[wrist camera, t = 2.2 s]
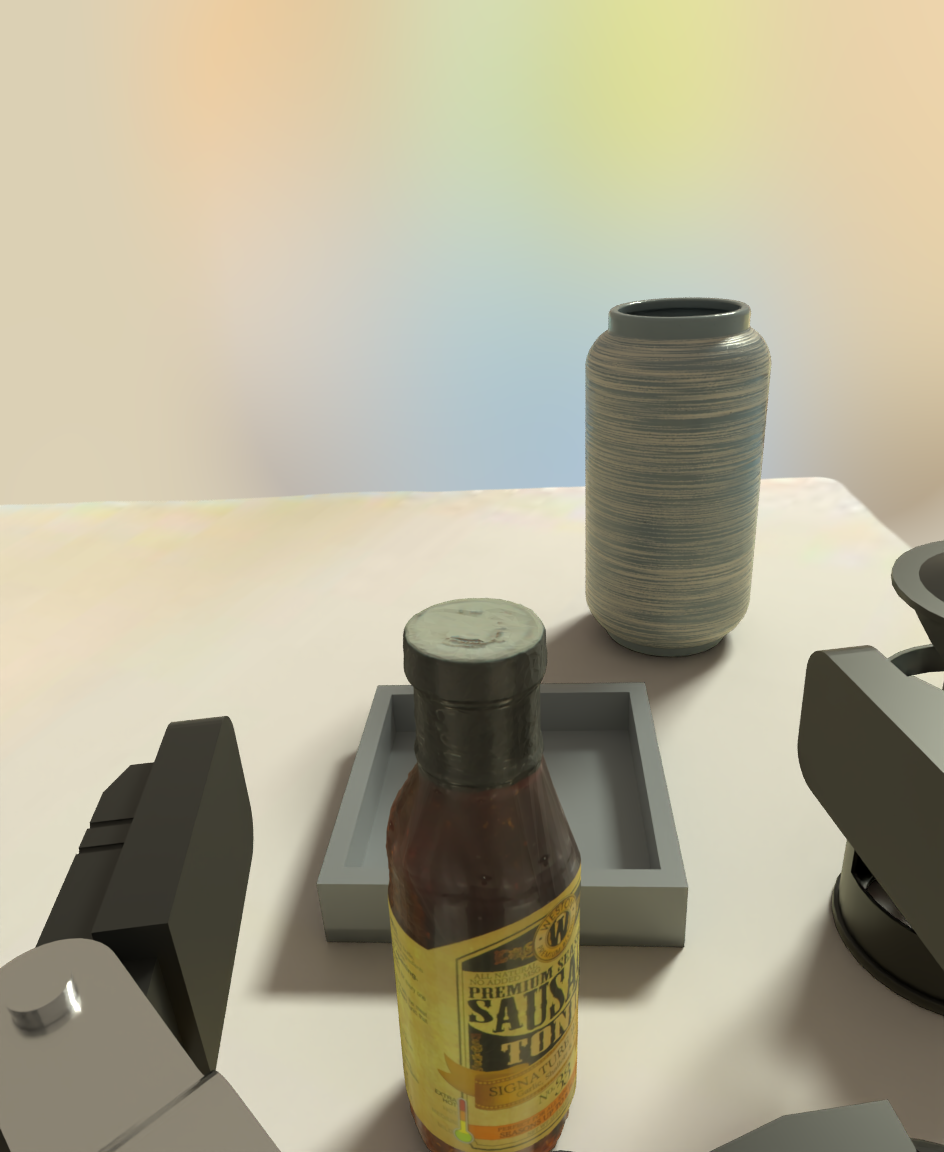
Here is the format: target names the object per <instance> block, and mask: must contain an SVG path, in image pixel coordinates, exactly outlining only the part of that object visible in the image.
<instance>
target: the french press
mask: <svg viewBox="0 0 944 1152" xmlns="http://www.w3.org/2000/svg"><path fill="white" fill-rule="evenodd" d="M891 579H892V586H893V587H894V589H895V591H896V592H897V594H898V596H899V597H901V598H902V599H903V600H904V601H905V602H906V603H907V604H908V605H909V606H910V607H912V608H913V609H915V611H916V613H917V615H918V618H919V620H920V622H921V624H922V625H923V627H924V629H925V631H926V633H927V635H928V637H929V639H930V641H931V643H932V644H929V645H923V646H918V647H913V648H910V649H907V650H904V651H901V652H898V653H896V654H894V655H893V656H891V657H889V658H887V659H888V660H889V661H890V662H891V663H893V664H894V665H895V666H896V667H897V668H898V669H899V670H900V671H901V672H902V673H904V674H905V675H906V676H911V675H916V674H922V673H927V672H940V671H944V541H938V542H932V543H929V544H925V545H921V546H918V547H915V548H913V549H911V550H909V551H907V552H905V553H904V554H902V555H901V556H900V557H899V558H898V559H897V560H896V561H895V564H894V566H893V568H892V573H891ZM942 690H943V691H944V684H943V689H942ZM875 879H876V878H875V877H874V875H873V874H872V873H871V871H870V870H869V869H868V867H867V866H866V865H865V863H864V862H863V860H862V859H861V858H860V856H859V855H858V854H857V852H856V851H855V850H854V848H853V847H852V846H851V844H850V843H849V841H848V840H847V842H846V848H845V854H844V860H843V866H842V872H841V873H840V875H839V876H838V877H837V880H836V883H835V886H834V889H833V893H832V912H833V916H834V920H835V924H836V928H837V930H838V932H839V934H840V936H841V937H842V939H843V941H844V943H845V945H846V946H847V948H848V949H849V950H850V952H851V953H852V954H853V956H854V957H855V958H856V959H857V961H858V962H859V963H860V964H861V965H862V966H863V967H864V968H865V969H866V970H867V971H869V972H870V973H871V974H872V975H873V976H874V977H875V978H876V979H877V980H879V981H880V982H882V983H883V984H884V985H886V986H887V987H888V988H890V989H891V990H893V991H894V992H895V993H897V994H899V995H901V996H902V997H904V998H906V999H908V1000H910V1001H911V1002H913V1003H915V1004H917V1005H919V1006H921V1007H923V1008H926V1009H928V1010H931V1011H933V1012H936V1013H938V1014H941V1015H943V1016H944V970H943V969H942V968H941V966H940V965H939V964H938V962H937V961H936V960H935V958H934V957H933V955H932V954H931V953H930V951H929V950H928V949H927V947H926V946H925V945H924V943H923V942H922V941H921V939H920V938H919V936H918V935H917V934H916V932H915V931H914V930H913V929H912V928H910V927H909V926H907V925H906V924H904V923H903V922H901V921H900V920H898V919H897V918H895V917H894V916H892V915H891V914H890V913H889V912H888V911H887V910H885V909H884V908H883V907H882V906H881V905H880V904H878V903H877V902H876V901H875V899H874V898H873V897H872V896H871V895H870V894H869V893H868V891H867V890H866V889H867V888H868V886H869V885H870V884H871V882H873V881H874V880H875Z"/></svg>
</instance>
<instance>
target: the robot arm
mask: <svg viewBox="0 0 944 1152" xmlns="http://www.w3.org/2000/svg"><path fill="white" fill-rule="evenodd" d="M798 758H799V764H800V768H801V771H802V774H803V777H804V779H805V781H806V783H807V785H808V787H809V788H810V790H811V791H812V793H813V794H814V795H815V797H816V798H817V799H818V801H819V802H820V803H821V805H822V806H823V808H824V809H825V810H826V812H827V813H828V814H829V816H830V817H831V818H832V820H833V821H834V822H835V824H836V825H837V827H838V828H839V829H840V831H841V832H842V833H843V835H844V836H845V837H846V839H847V840H848V841H849V843H850V844H851V846H852V847H853V848H854V850H855V851H856V852H857V854H858V855H859V856H860V858H861V859H862V860H863V862H864V863H865V865H866V866H867V867H868V869H869V870H870V871H871V873H872V874H873V875H874V877H875V878H876V879H877V881H878V882H879V884H880V885H881V886H882V888H883V889H884V890H885V892H886V893H887V894H888V896H889V897H890V898H891V900H892V901H893V903H894V904H895V905H896V907H897V908H898V909H899V911H900V912H901V913H902V915H903V916H904V917H905V919H906V920H907V922H908V923H909V924H910V926H911V927H912V928H913V930H914V931H915V932H916V934H917V935H918V936H919V938H920V939H921V941H922V942H923V943H924V945H925V946H926V947H927V949H928V950H929V951H930V953H931V954H932V955H933V957H934V958H935V960H936V961H937V962H938V964H939V965H940V966H941V968H942V969H943V970H944V691H943V690H941V689H939V688H937V687H935V686H933V685H931V684H929V683H927V682H925V681H923V680H921V679H919V678H917V677H915V676H906V675H905V674H904V673H902V672H901V671H900V670H899V669H898V668H897V667H896V666H895V665H894V664H893V663H891V662H890V661H889V660H888V659H887V658H886V657H885V656H884V655H883V654H881V653H880V652H879V651H878V650H877V649H876V648H874V647H872V646H868V645H865V646H856V647H847V648H839V649H830V650H821V651H815V652H814V653H813V654H812V655H811V656H810V658H809V660H808V664H807V669H806V677H805V685H804V694H803V702H802V710H801V719H800V727H799V735H798ZM252 854H253V821H252V812H251V806H250V802H249V797H248V792H247V788H246V783H245V778H244V774H243V769H242V764H241V760H240V755H239V750H238V746H237V741H236V736H235V732H234V728H233V724H232V722H231V720H230V718H229V717H228V716H223V717H214V718H205V719H196V720H187V721H178V722H171V723H170V724H169V725H168V727H167V729H166V732H165V734H164V737H163V740H162V743H161V745H160V748H159V751H158V753H157V756H156V759H155V761H154V762H153V763H144V764H135V765H130V766H129V767H128V768H127V769H126V770H125V771H124V772H123V773H122V774H121V775H120V776H119V777H118V778H117V779H116V780H115V781H114V782H113V783H112V784H111V785H110V786H109V787H108V788H107V789H106V790H105V791H104V792H103V794H102V796H101V798H100V801H99V803H98V805H97V807H96V810H95V812H94V814H93V817H92V819H91V821H90V829H87V830H86V833H85V835H84V837H83V840H82V842H81V844H80V846H79V854H76V856H75V858H74V860H73V862H72V865H71V867H70V869H69V872H68V874H67V876H66V878H65V881H64V883H63V885H62V888H61V890H60V892H59V895H58V897H57V899H56V901H55V904H54V906H53V908H52V911H51V913H50V915H49V917H48V920H47V922H46V924H45V927H44V929H43V931H42V933H41V936H40V938H39V940H38V943H37V945H36V947H35V948H34V949H31V950H29V951H27V952H25V953H23V954H22V955H20V956H18V957H16V958H15V959H13V960H12V961H10V962H8V963H7V964H6V965H4V966H3V967H2V968H0V1152H280V1150H279V1149H278V1148H277V1146H276V1145H275V1144H274V1142H273V1141H272V1139H271V1138H270V1137H269V1135H268V1134H267V1133H266V1131H265V1130H264V1129H263V1127H262V1126H261V1125H260V1123H259V1122H258V1121H257V1119H256V1118H255V1117H254V1115H253V1114H252V1113H251V1111H250V1110H249V1109H248V1107H247V1106H246V1105H245V1103H244V1102H243V1101H242V1099H241V1098H240V1097H239V1095H238V1094H237V1093H236V1091H235V1090H234V1089H233V1087H232V1086H231V1085H230V1084H229V1082H228V1081H227V1080H226V1079H225V1078H224V1077H223V1076H222V1075H221V1074H220V1073H219V1072H217V1071H215V1070H216V1065H217V1059H218V1053H219V1047H220V1041H221V1035H222V1030H223V1024H224V1018H225V1012H226V1006H227V1000H228V995H229V989H230V983H231V977H232V971H233V965H234V960H235V954H236V948H237V942H238V936H239V931H240V925H241V919H242V913H243V907H244V901H245V896H246V890H247V884H248V878H249V872H250V866H251V861H252ZM553 1152H571V1151H562V1150H559V1151H553ZM710 1152H944V1145H942V1144H937V1143H933V1142H929V1141H925V1140H920V1139H912V1138H909V1136H908V1134H907V1132H906V1131H905V1129H904V1127H903V1125H902V1124H901V1122H900V1120H899V1118H898V1117H897V1115H896V1113H895V1111H894V1110H893V1108H892V1106H891V1104H890V1103H889V1101H888V1100H881V1101H875V1102H868V1103H862V1104H855V1105H849V1106H843V1107H836V1108H830V1109H823V1110H817V1111H810V1112H804V1113H798V1114H791V1115H785V1116H782V1117H780V1118H778V1119H776V1120H774V1121H771V1122H769V1123H767V1124H765V1125H763V1126H761V1127H759V1128H757V1129H755V1130H753V1131H751V1132H749V1133H747V1134H745V1135H743V1136H741V1137H739V1138H737V1139H735V1140H733V1141H731V1142H729V1143H726V1144H724V1145H722V1146H720V1147H718V1148H716V1149H714V1150H712V1151H710Z"/></svg>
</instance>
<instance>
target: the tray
mask: <svg viewBox="0 0 944 1152" xmlns="http://www.w3.org/2000/svg"><path fill="white" fill-rule="evenodd" d="M414 708H415V703H414V688H413V686H412V685H379V686H377V690H376V693H375V696H374V699H373V703H372V706H371V709H370V712H369V716H368V719H367V722H366V725H365V728H364V732H363V735H362V738H361V741H360V745H359V748H358V751H357V754H356V758H355V761H354V764H353V767H352V771H351V774H350V777H349V780H348V784H347V787H346V790H345V793H344V796H343V800H342V803H341V806H340V809H339V813H338V816H337V819H336V822H335V826H334V829H333V832H332V835H331V839H330V842H329V845H328V848H327V852H326V855H325V858H324V861H323V864H322V868H321V871H320V874H319V877H318V881H317V889H318V895H319V901H320V906H321V912H322V917H323V923H324V929H325V934H326V940H327V942H391V943H392V937H391V926H390V914H389V905H388V884H389V868H388V857H387V850H386V831H387V824H388V819H389V814H390V809H391V806H392V804H393V801H394V800H395V798H396V796H397V793H398V791H399V790H400V789H401V788H402V786H403V784H404V782H405V781H406V780H407V778H408V773H409V772H410V771H411V770H412V769H413V767H414V766H415V764H416V763H417V759H416V756H415V751H414V744H415V739H416V732H415V730H416V721H415V717H414ZM540 730H541V733H542V737H543V745H544V751H543V755H544V758H545V761H546V764H547V767H548V770H549V773H550V777H551V780H552V783H553V785H554V788H555V790H556V793H557V795H558V798H559V801H560V803H561V806H562V808H563V811H564V813H565V816H566V819H567V821H568V824H569V826H570V829H571V831H572V834H573V836H574V839H575V842H576V844H577V847H578V849H579V852H580V854H581V890H580V936H579V945H595V946H663V947H684V942H685V927H686V912H687V897H688V884H687V879H686V875H685V870H684V865H683V860H682V856H681V851H680V846H679V841H678V837H677V832H676V827H675V823H674V818H673V813H672V808H671V804H670V799H669V794H668V790H667V785H666V780H665V775H664V771H663V766H662V761H661V756H660V752H659V747H658V742H657V738H656V733H655V728H654V723H653V719H652V714H651V709H650V705H649V700H648V695H647V690H646V686H645V682H640V683H553V684H540Z"/></svg>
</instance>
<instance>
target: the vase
mask: <svg viewBox="0 0 944 1152" xmlns="http://www.w3.org/2000/svg"><path fill="white" fill-rule="evenodd" d="M750 316H751V310H750V307H749V306H748V305H747V304H745V303H743V302H740V301H735V300H729V299H719V298H664V299H651V300H642V301H634V302H629V303H625V304H620V305H617V306H615V307H613V308H612V309H611V310H610V312H609V318H608V319H609V320H608V322H609V323H608V330H607V331H605V332H604V333H603V334H601V335H600V336H599V337H598V339H597V340H596V341H595V342H594V344H593V345H592V347H591V349H590V350H589V353H588V356H587V359H586V601H587V604H588V606H589V609H590V611H591V613H592V614H593V616H594V617H595V619H596V620H597V621H598V622H599V623H600V624H601V625H602V626H603V627H604V628H605V629H606V630H607V632H608V634H609V635H610V637H611V638H612V639H613V640H615V641H616V642H617V643H618V644H620V645H622V646H624V647H626V648H628V649H631V650H633V651H636V652H640V653H643V654H648V655H654V656H665V657H678V656H688V655H693V654H697V653H701V652H704V651H706V650H708V649H710V648H713V647H714V646H715V645H717V644H718V643H719V642H720V641H721V640H722V639H723V637H724V636H725V635H726V634H728V633H729V632H730V631H732V630H733V629H734V628H735V627H736V626H737V625H738V623H739V622H740V621H741V620H742V619H743V617H744V615H745V614H746V611H747V608H748V605H749V601H750V590H751V579H752V568H753V557H754V546H755V535H756V524H757V513H758V502H759V491H760V480H761V469H762V459H763V448H764V436H765V426H766V414H767V403H768V393H769V382H770V371H771V356H770V352H769V349H768V346H767V344H766V342H765V340H764V339H763V337H762V336H761V335H760V334H759V333H758V332H756V331H755V330H754V329H753V328H751V327H750Z"/></svg>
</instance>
